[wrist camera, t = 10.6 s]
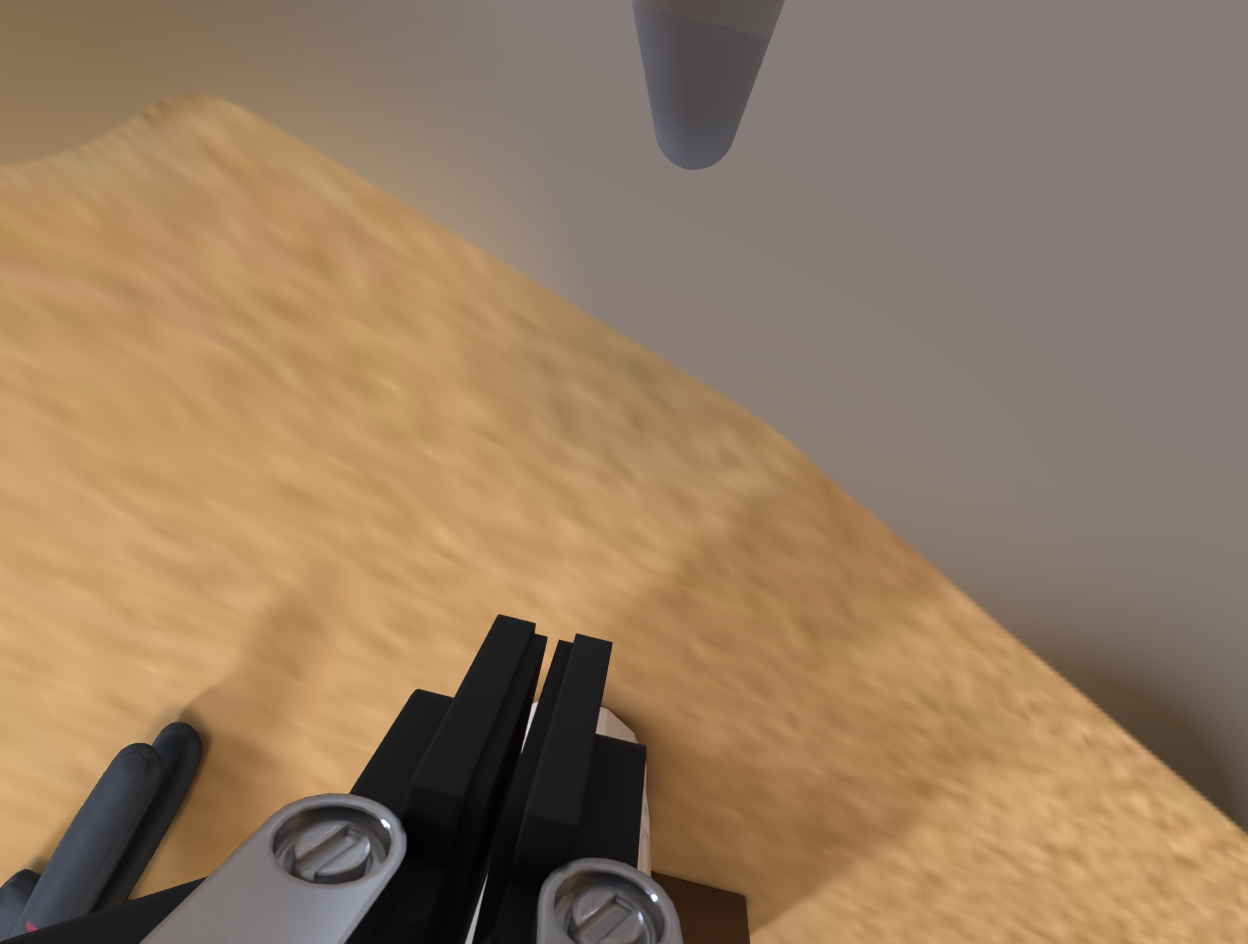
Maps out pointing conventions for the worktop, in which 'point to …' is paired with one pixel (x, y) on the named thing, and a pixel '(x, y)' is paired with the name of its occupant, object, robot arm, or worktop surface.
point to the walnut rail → (706, 912)
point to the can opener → (107, 836)
